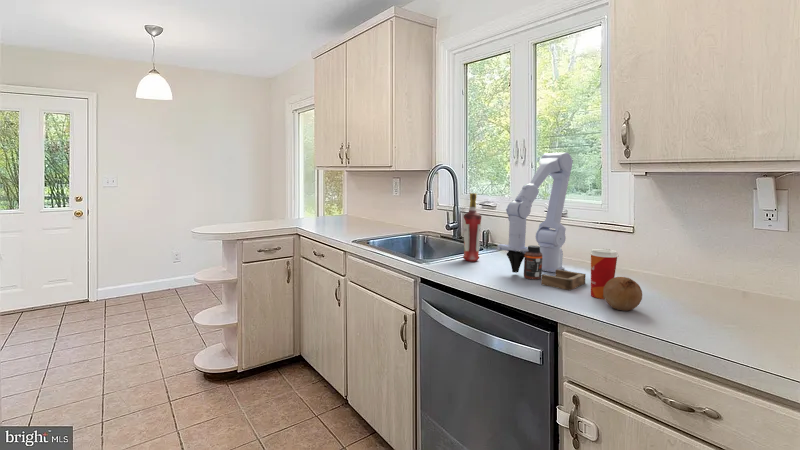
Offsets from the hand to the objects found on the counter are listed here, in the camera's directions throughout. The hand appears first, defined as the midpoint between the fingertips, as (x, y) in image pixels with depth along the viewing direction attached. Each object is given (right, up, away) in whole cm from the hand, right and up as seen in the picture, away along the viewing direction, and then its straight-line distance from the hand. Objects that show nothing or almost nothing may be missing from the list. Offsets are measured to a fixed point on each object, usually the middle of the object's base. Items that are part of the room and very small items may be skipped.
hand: (515, 272), depth 153 cm
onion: (+19, -6, -37) cm, 42 cm away
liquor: (-12, +2, +24) cm, 27 cm away
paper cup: (+19, -5, -26) cm, 32 cm away
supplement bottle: (+5, -2, -4) cm, 7 cm away
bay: (+13, -3, -12) cm, 18 cm away
